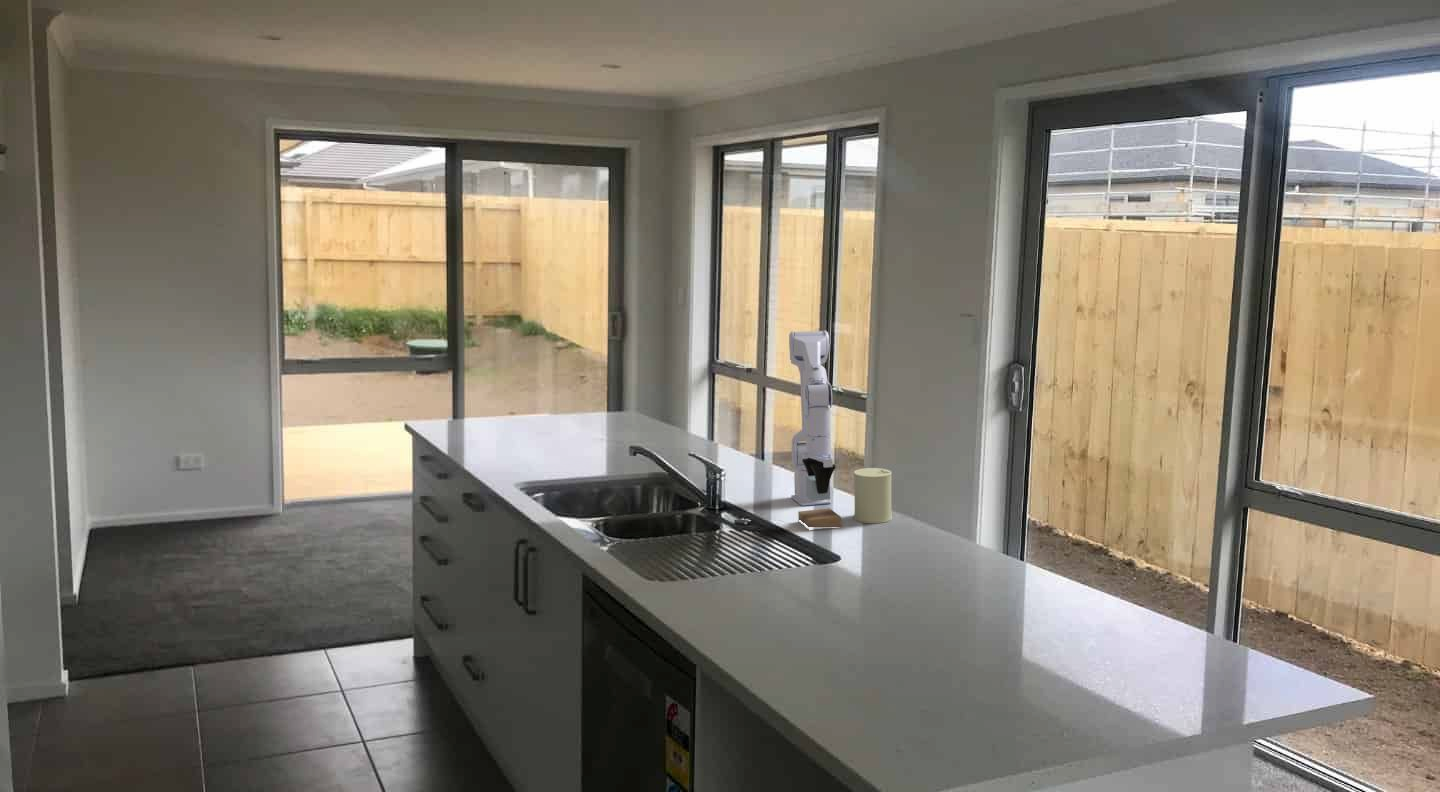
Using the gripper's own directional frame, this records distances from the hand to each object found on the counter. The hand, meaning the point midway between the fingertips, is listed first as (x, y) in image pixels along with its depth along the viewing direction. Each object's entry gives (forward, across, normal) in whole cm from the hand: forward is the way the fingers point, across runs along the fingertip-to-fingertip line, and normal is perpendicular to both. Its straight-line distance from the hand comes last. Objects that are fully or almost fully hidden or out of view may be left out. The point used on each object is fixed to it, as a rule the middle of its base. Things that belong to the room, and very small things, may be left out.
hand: (819, 490), depth 271 cm
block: (+2, 0, 0) cm, 2 cm away
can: (+9, -1, +14) cm, 16 cm away
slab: (+9, 0, 0) cm, 9 cm away
